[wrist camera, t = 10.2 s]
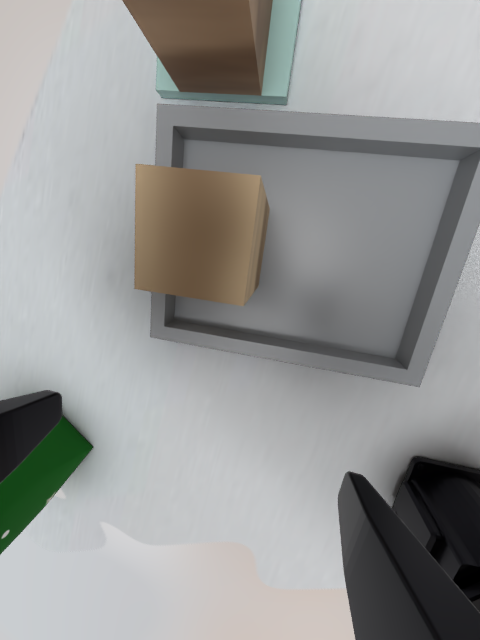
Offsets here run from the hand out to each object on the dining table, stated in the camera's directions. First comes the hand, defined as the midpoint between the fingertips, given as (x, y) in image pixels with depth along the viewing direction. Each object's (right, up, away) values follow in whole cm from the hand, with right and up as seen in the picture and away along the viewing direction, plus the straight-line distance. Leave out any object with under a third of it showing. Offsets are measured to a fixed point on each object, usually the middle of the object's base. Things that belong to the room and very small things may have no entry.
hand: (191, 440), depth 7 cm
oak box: (+1, +9, +9) cm, 13 cm away
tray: (+5, +8, +10) cm, 14 cm away
